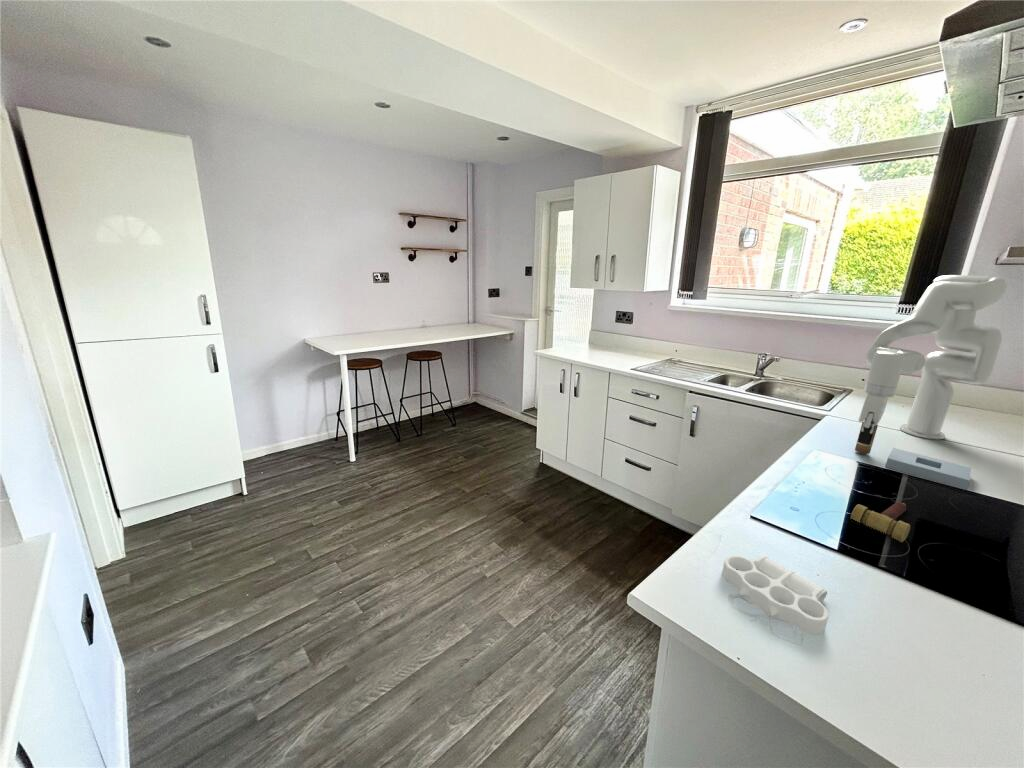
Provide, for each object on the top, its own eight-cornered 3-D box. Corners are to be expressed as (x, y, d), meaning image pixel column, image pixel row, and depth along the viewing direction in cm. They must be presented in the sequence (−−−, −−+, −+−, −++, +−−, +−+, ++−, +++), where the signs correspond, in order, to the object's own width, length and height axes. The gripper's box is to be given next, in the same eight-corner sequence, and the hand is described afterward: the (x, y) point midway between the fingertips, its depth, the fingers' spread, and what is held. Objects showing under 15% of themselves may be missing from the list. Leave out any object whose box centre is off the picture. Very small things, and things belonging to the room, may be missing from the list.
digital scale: (890, 455, 141) (893, 447, 141) (967, 476, 129) (970, 467, 128) (885, 466, 134) (887, 458, 133) (966, 489, 121) (969, 480, 120)
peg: (855, 447, 145) (863, 420, 142) (871, 451, 142) (879, 424, 139) (853, 450, 142) (861, 423, 140) (868, 455, 140) (876, 427, 137)
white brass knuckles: (844, 612, 78) (806, 649, 70) (747, 555, 92) (707, 581, 84) (849, 597, 77) (811, 633, 69) (750, 542, 91) (710, 567, 83)
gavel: (882, 488, 115) (931, 505, 107) (877, 503, 116) (925, 521, 108) (853, 506, 103) (906, 527, 95) (848, 522, 104) (900, 545, 97)
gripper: (869, 381, 144) (856, 431, 149) (860, 391, 133) (845, 444, 138) (898, 386, 139) (883, 438, 144) (891, 397, 128) (875, 452, 133)
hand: (865, 440), depth 141 cm, fingers closed on peg, 4 cm apart
